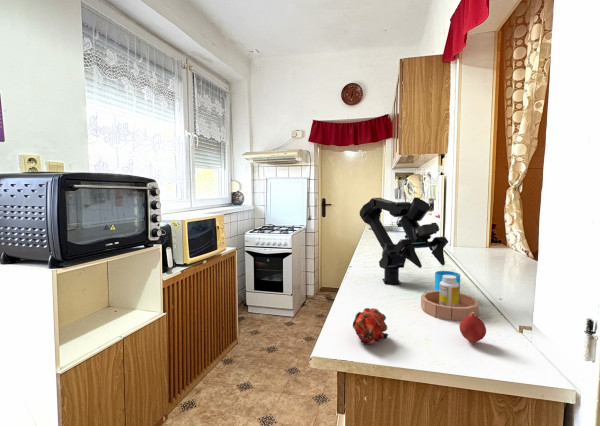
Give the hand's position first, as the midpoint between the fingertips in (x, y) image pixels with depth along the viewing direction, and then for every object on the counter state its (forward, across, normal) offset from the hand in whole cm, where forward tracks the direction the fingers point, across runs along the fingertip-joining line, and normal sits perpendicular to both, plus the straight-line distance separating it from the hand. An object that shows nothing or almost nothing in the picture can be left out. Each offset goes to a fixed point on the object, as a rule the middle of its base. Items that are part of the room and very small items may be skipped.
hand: (432, 266), depth 107 cm
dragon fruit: (+21, -33, -3) cm, 39 cm away
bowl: (+14, 0, +3) cm, 15 cm away
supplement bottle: (+14, 0, +3) cm, 14 cm away
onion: (+28, -10, -10) cm, 31 cm away
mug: (+6, +11, +13) cm, 17 cm away
